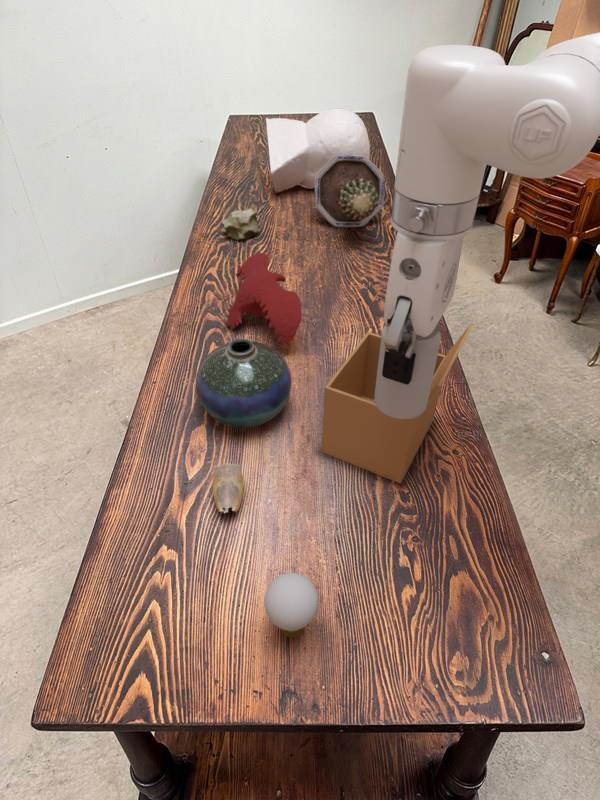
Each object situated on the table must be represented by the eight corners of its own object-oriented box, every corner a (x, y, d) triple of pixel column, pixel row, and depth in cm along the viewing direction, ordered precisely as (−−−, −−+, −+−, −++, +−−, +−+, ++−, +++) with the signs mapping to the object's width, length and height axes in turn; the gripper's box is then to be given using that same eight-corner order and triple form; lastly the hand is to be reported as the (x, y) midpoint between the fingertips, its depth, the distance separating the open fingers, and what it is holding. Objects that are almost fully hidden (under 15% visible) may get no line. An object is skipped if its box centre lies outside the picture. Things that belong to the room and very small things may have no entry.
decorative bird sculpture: (276, 380, 103) (326, 320, 98) (239, 363, 97) (291, 298, 92) (231, 305, 122) (271, 252, 117) (198, 287, 116) (240, 230, 111)
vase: (184, 403, 92) (171, 340, 83) (258, 368, 99) (254, 306, 90) (232, 457, 83) (223, 393, 74) (310, 415, 90) (311, 352, 81)
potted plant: (311, 149, 143) (323, 160, 117) (377, 151, 144) (405, 162, 118) (308, 218, 151) (319, 242, 125) (371, 219, 153) (395, 243, 126)
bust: (343, 165, 174) (375, 95, 153) (356, 216, 164) (391, 148, 144) (253, 150, 164) (274, 73, 143) (261, 202, 154) (285, 128, 134)
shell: (254, 515, 75) (240, 507, 72) (226, 525, 76) (210, 518, 73) (244, 464, 79) (230, 454, 76) (217, 475, 80) (202, 465, 77)
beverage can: (430, 423, 64) (449, 341, 56) (376, 423, 64) (386, 342, 56) (421, 387, 68) (437, 307, 60) (370, 387, 68) (380, 307, 60)
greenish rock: (263, 233, 142) (266, 206, 135) (249, 251, 136) (251, 224, 130) (231, 221, 143) (232, 194, 136) (215, 240, 137) (216, 212, 131)
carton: (433, 420, 89) (448, 356, 80) (400, 483, 79) (413, 419, 70) (360, 395, 93) (367, 331, 84) (321, 452, 84) (324, 387, 75)
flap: (448, 352, 79) (450, 353, 79) (413, 414, 70) (416, 416, 70) (471, 322, 74) (474, 324, 74) (437, 385, 65) (440, 386, 65)
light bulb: (292, 596, 66) (291, 552, 60) (327, 629, 63) (330, 587, 57) (256, 629, 63) (251, 587, 57) (291, 666, 60) (290, 626, 54)
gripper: (445, 258, 42) (413, 419, 54) (496, 183, 53) (460, 330, 66) (357, 237, 45) (346, 396, 57) (423, 170, 56) (402, 314, 68)
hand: (407, 360), depth 61 cm, fingers closed on beverage can, 6 cm apart
